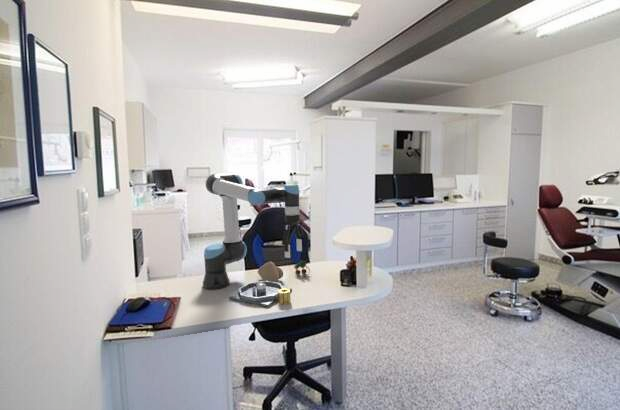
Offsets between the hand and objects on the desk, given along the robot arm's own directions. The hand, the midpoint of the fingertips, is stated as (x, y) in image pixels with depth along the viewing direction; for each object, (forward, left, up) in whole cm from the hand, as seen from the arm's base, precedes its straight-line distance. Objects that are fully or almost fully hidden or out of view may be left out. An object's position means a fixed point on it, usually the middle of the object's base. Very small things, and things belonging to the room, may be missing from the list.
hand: (293, 254), depth 176 cm
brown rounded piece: (-24, +15, -23) cm, 36 cm away
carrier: (-16, -7, -22) cm, 29 cm away
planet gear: (0, -10, -22) cm, 25 cm away
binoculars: (-12, +31, -23) cm, 40 cm away
